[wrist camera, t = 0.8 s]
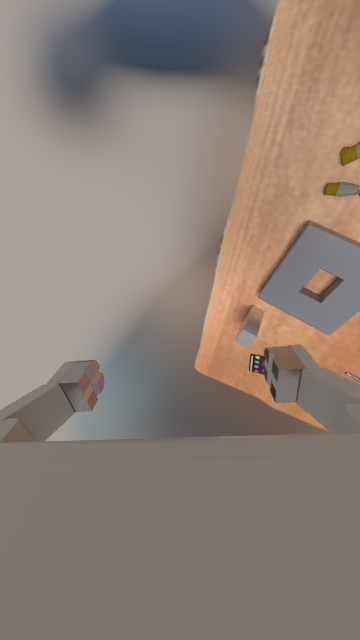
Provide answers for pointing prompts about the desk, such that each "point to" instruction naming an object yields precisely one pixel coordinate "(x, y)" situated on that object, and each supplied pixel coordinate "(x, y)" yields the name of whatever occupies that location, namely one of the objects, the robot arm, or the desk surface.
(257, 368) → the smartphone
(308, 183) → the desk surface
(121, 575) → the robot arm
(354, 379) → the toy airplane
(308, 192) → the desk surface
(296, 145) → the desk surface
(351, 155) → the extension cord
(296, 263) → the block
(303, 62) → the desk surface
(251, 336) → the grey square post
